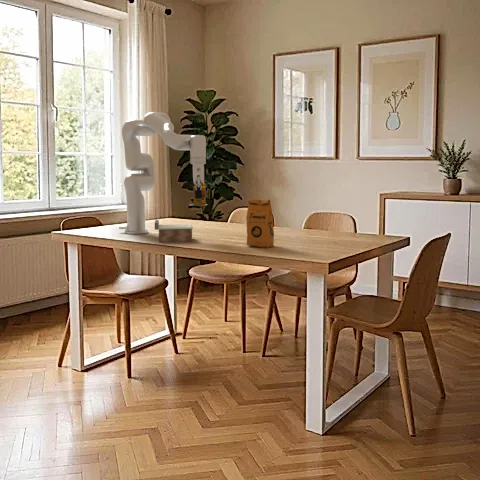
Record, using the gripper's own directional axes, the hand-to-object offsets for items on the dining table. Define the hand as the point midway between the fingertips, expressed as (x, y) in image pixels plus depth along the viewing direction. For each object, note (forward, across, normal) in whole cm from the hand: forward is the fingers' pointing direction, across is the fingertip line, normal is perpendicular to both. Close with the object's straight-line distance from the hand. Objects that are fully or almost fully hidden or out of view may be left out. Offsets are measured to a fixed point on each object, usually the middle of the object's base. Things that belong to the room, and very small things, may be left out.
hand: (198, 197), depth 307 cm
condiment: (+4, 0, 0) cm, 4 cm away
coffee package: (+21, -25, -28) cm, 42 cm away
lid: (+15, 0, +12) cm, 19 cm away
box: (+21, 0, +11) cm, 24 cm away
